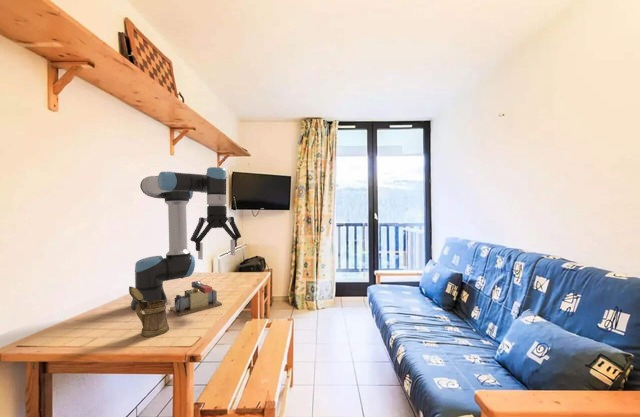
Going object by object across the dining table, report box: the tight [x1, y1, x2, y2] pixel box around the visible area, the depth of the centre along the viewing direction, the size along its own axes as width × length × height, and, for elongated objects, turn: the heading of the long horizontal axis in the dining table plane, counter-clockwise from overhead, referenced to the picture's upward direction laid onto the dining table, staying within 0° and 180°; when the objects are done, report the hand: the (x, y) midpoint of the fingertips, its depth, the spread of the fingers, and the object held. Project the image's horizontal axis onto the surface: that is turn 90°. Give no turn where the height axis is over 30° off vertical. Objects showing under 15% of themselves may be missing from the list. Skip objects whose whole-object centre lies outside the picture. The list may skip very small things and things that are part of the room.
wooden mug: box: [128, 286, 170, 338], centre depth 106 cm, size 9×14×18 cm, turn 102°
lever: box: [191, 280, 213, 294], centre depth 128 cm, size 16×4×2 cm, turn 44°
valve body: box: [169, 288, 223, 317], centre depth 132 cm, size 12×20×10 cm, turn 134°
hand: (217, 257), depth 114 cm, fingers open, 13 cm apart
